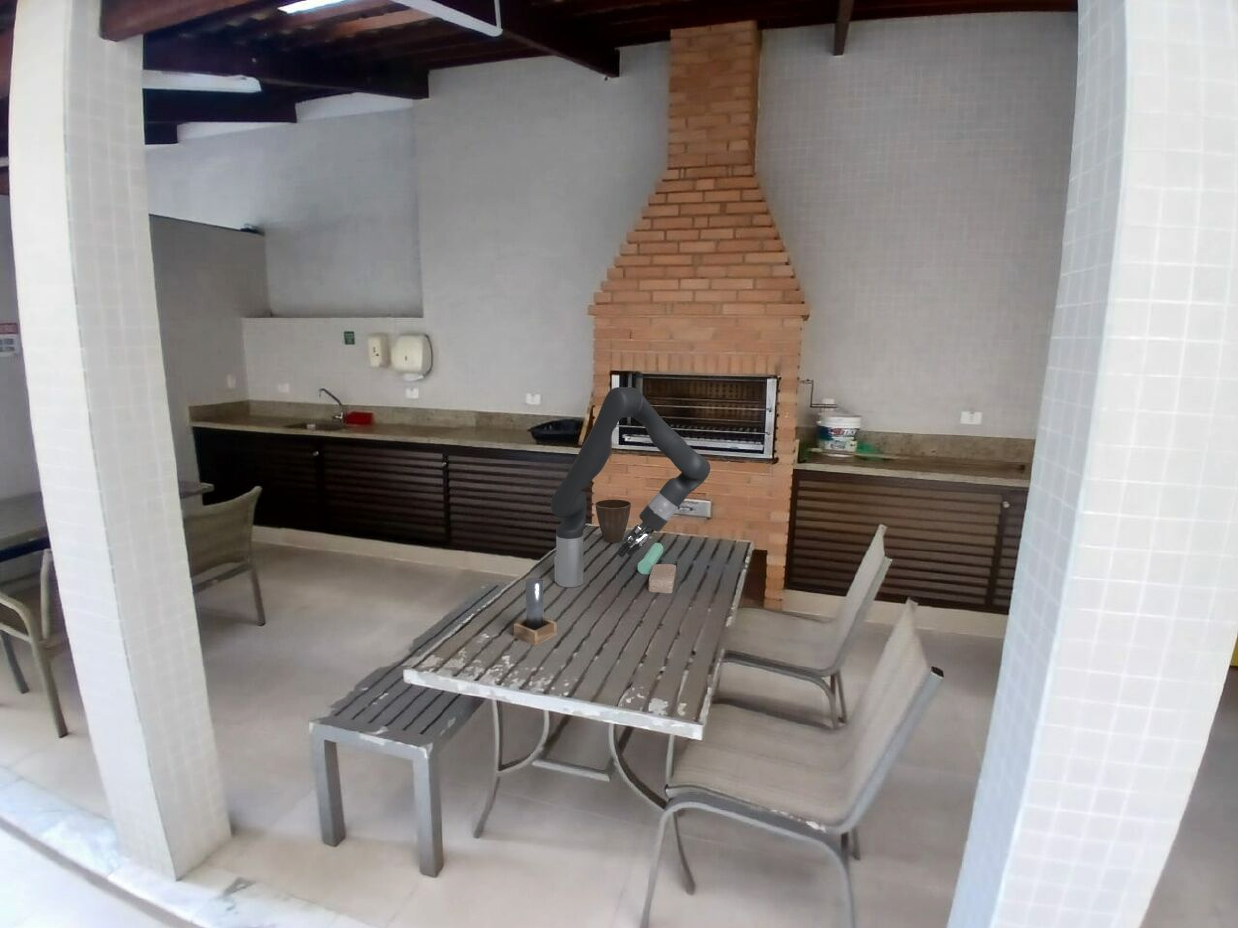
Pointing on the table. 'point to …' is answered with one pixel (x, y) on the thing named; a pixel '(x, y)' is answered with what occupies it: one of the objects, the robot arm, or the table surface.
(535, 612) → the rod
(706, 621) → the table surface
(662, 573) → the brick
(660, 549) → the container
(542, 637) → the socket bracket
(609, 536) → the plant pot
